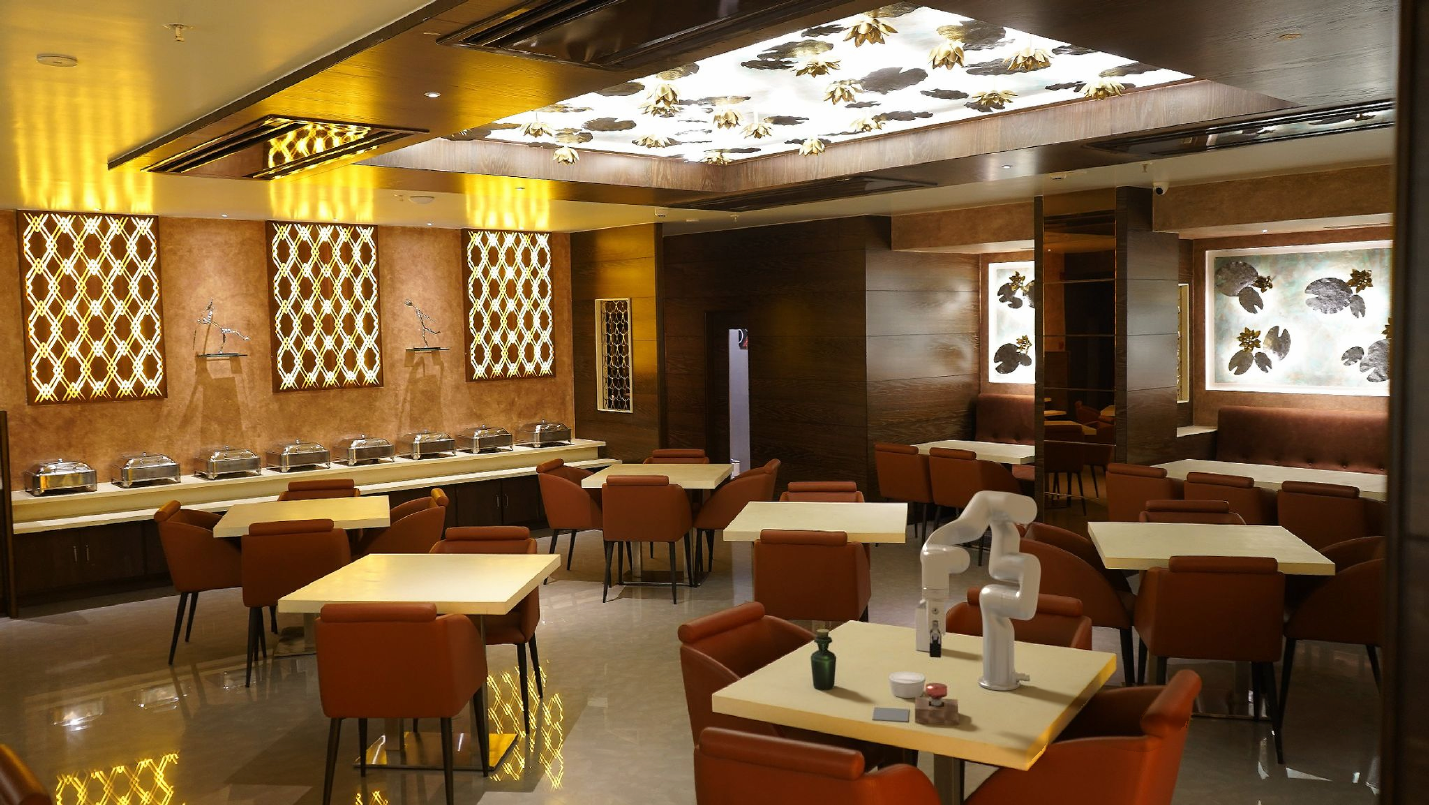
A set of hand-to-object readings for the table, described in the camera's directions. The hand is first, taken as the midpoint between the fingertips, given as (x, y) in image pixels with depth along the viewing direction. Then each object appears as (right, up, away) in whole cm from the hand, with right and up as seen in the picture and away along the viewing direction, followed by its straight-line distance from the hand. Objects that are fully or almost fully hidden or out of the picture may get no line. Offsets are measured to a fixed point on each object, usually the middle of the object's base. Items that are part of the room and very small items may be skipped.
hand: (935, 652), depth 294 cm
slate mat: (-12, -19, +4) cm, 23 cm away
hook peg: (+1, -19, +1) cm, 19 cm away
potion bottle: (-29, -19, +30) cm, 46 cm away
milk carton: (+13, -16, +69) cm, 72 cm away
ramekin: (-4, -19, +23) cm, 29 cm away
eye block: (+1, -19, +1) cm, 19 cm away
